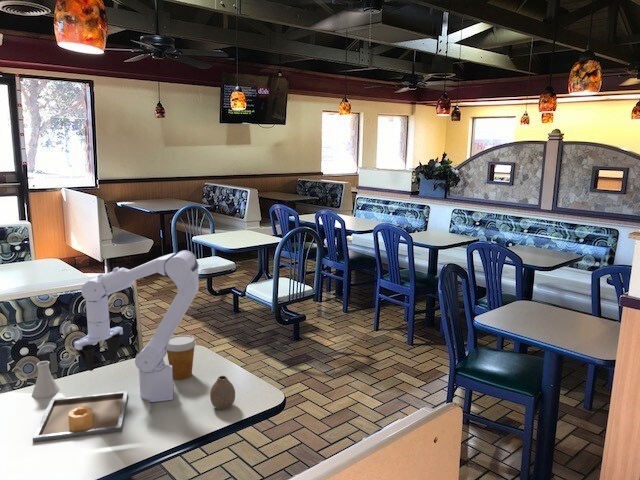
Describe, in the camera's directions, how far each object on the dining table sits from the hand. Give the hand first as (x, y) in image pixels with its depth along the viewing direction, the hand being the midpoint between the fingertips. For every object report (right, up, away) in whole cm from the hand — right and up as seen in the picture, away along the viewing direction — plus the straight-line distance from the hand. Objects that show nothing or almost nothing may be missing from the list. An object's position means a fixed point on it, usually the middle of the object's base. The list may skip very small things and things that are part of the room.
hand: (101, 364), depth 148 cm
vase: (+36, -11, -4) cm, 37 cm away
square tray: (0, -12, -11) cm, 16 cm away
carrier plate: (0, -12, -11) cm, 16 cm away
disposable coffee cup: (+19, -7, +15) cm, 25 cm away
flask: (-17, -9, +1) cm, 19 cm away
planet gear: (+2, -12, -16) cm, 20 cm away
